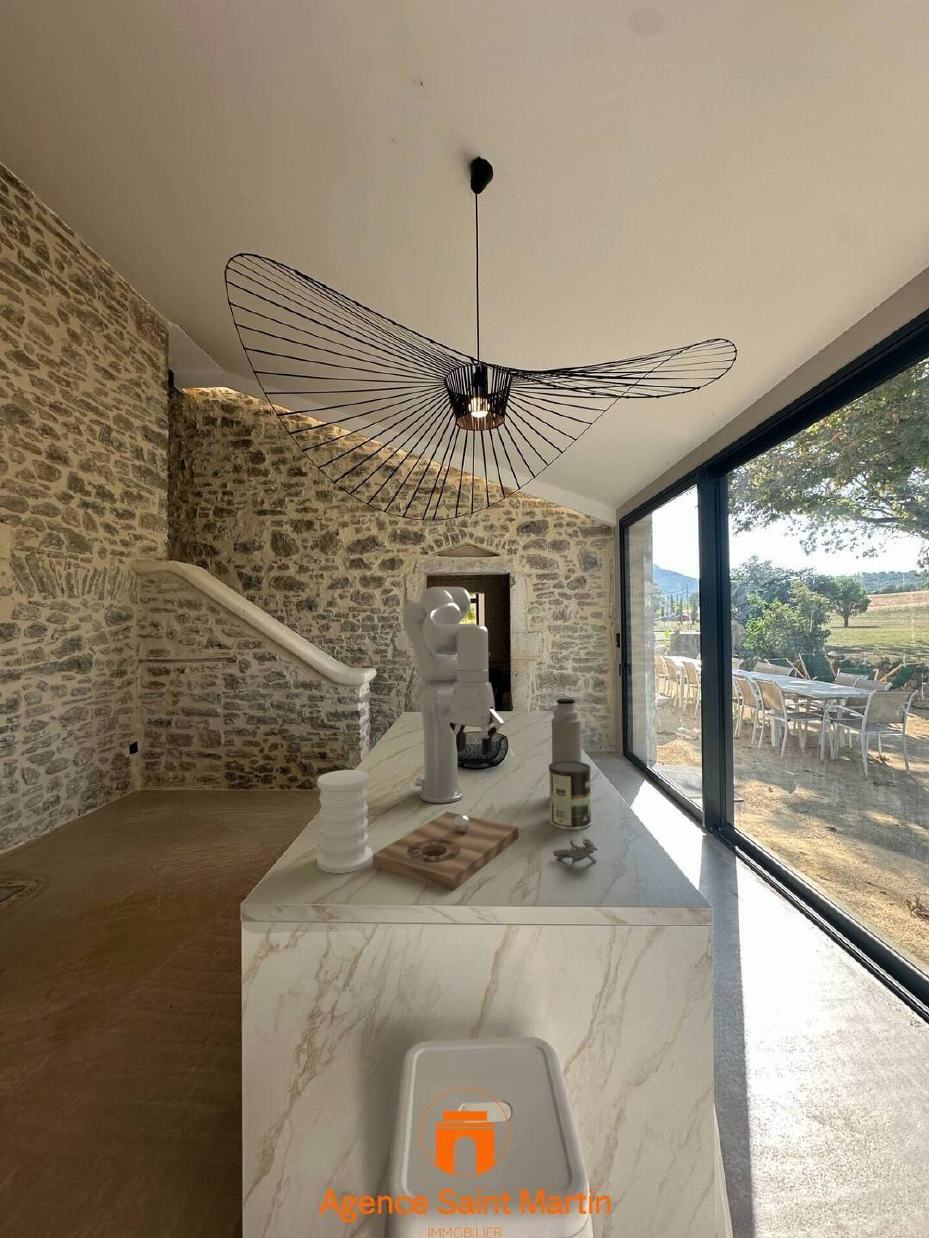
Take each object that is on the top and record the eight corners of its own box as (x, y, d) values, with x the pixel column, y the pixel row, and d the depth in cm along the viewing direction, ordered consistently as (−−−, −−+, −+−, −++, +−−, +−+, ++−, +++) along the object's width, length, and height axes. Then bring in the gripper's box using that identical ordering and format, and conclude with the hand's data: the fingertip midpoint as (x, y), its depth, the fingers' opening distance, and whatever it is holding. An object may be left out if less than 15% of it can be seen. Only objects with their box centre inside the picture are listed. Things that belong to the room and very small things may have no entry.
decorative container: (326, 849, 122) (324, 769, 122) (377, 848, 122) (375, 769, 122) (309, 873, 111) (308, 785, 110) (366, 873, 110) (364, 785, 110)
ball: (449, 833, 123) (449, 815, 123) (458, 827, 127) (458, 810, 127) (464, 836, 121) (464, 819, 121) (473, 830, 125) (473, 813, 125)
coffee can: (590, 815, 140) (590, 761, 139) (592, 831, 129) (591, 772, 129) (550, 813, 142) (549, 759, 142) (548, 828, 132) (547, 770, 131)
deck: (447, 821, 137) (447, 811, 137) (518, 837, 127) (518, 827, 126) (373, 866, 113) (372, 854, 113) (453, 890, 103) (452, 877, 103)
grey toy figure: (569, 850, 120) (606, 846, 115) (568, 879, 116) (606, 875, 110) (543, 831, 115) (580, 825, 110) (541, 860, 111) (579, 855, 106)
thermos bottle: (555, 792, 158) (554, 696, 158) (583, 794, 155) (581, 697, 155) (550, 801, 150) (549, 700, 150) (579, 804, 148) (578, 702, 147)
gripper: (433, 677, 130) (435, 751, 130) (497, 680, 121) (498, 760, 121) (451, 673, 137) (452, 744, 137) (512, 677, 127) (513, 753, 128)
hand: (473, 751), depth 129 cm, fingers open, 6 cm apart
